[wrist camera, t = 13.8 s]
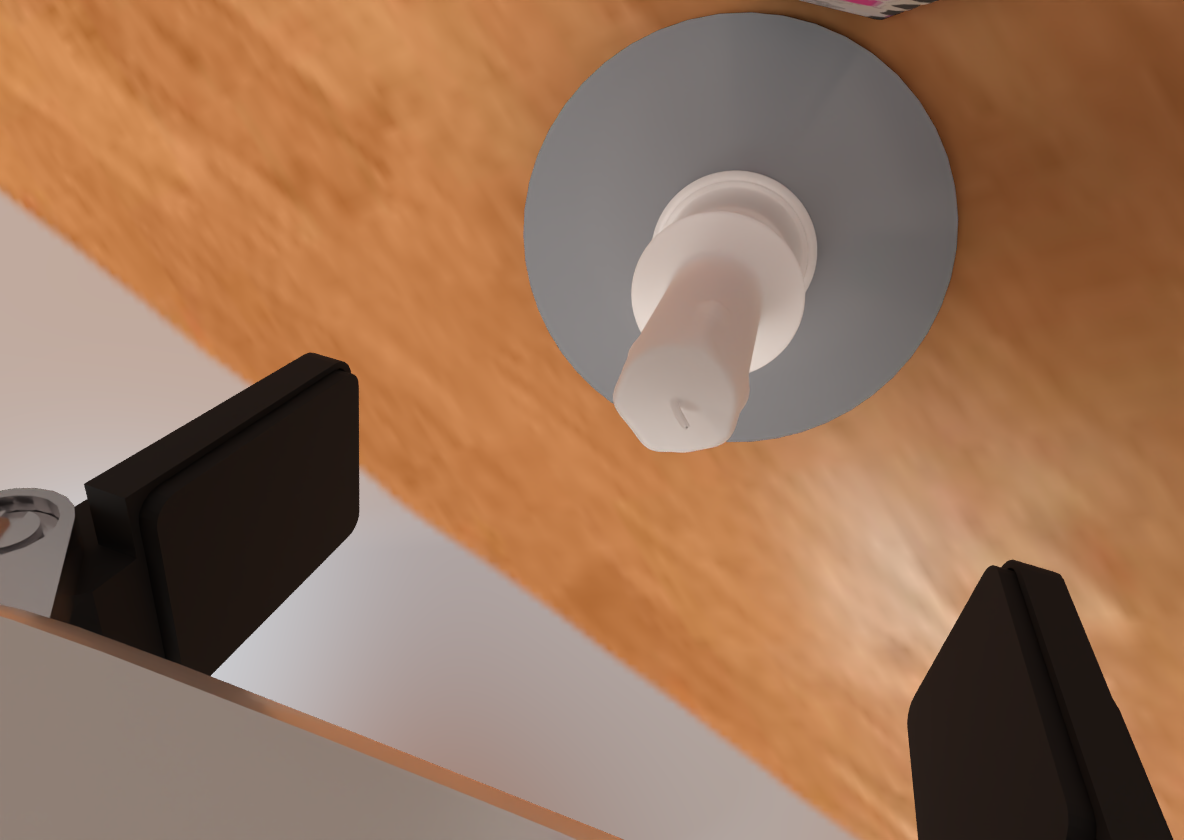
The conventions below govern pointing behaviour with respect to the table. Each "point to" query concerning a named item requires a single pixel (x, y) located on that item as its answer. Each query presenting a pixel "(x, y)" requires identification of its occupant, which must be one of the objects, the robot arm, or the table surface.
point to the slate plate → (765, 146)
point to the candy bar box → (871, 6)
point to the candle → (713, 307)
